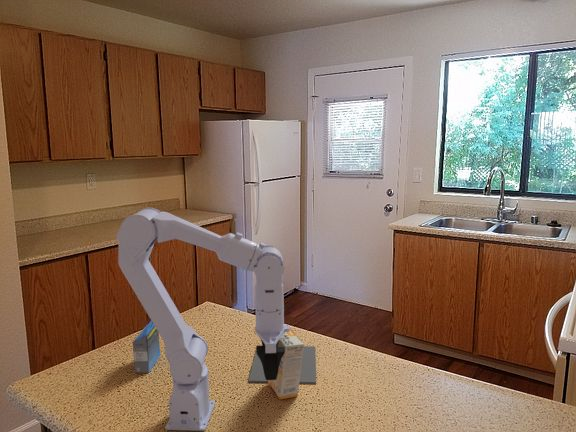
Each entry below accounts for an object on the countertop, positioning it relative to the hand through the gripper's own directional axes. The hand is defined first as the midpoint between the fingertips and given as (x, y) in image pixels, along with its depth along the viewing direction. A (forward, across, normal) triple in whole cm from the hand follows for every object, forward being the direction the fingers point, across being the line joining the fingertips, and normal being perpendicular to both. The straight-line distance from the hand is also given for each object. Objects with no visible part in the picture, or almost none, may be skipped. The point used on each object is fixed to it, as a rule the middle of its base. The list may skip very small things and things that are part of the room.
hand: (270, 369), depth 89 cm
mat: (+10, +20, -4) cm, 22 cm away
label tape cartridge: (+10, +22, +31) cm, 39 cm away
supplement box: (+9, +8, -2) cm, 12 cm away
